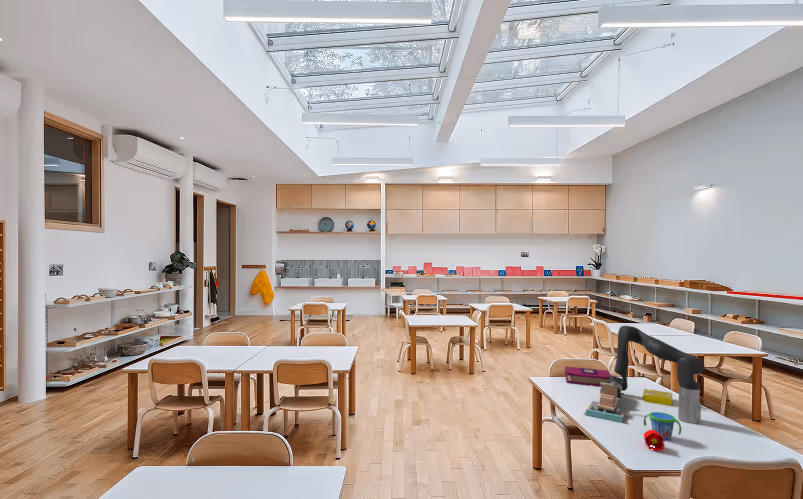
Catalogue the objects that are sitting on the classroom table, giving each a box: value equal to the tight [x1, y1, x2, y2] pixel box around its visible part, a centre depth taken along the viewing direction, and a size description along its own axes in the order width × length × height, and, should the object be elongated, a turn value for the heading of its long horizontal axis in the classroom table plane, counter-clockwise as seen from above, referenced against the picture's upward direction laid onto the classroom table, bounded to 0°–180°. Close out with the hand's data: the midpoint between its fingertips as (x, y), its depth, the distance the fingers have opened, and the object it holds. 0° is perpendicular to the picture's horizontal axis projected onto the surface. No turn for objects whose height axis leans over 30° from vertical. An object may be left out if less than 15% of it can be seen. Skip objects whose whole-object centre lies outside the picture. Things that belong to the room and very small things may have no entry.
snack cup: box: [643, 411, 683, 440], centre depth 212 cm, size 16×10×10 cm
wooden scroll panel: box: [597, 382, 618, 414], centre depth 242 cm, size 11×9×14 cm
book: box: [564, 366, 612, 387], centre depth 304 cm, size 21×28×8 cm
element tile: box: [642, 388, 673, 407], centre depth 266 cm, size 15×15×5 cm
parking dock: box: [583, 400, 632, 425], centre depth 243 cm, size 28×20×4 cm
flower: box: [643, 429, 666, 452], centre depth 200 cm, size 8×8×8 cm
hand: (609, 397), depth 247 cm, fingers closed
